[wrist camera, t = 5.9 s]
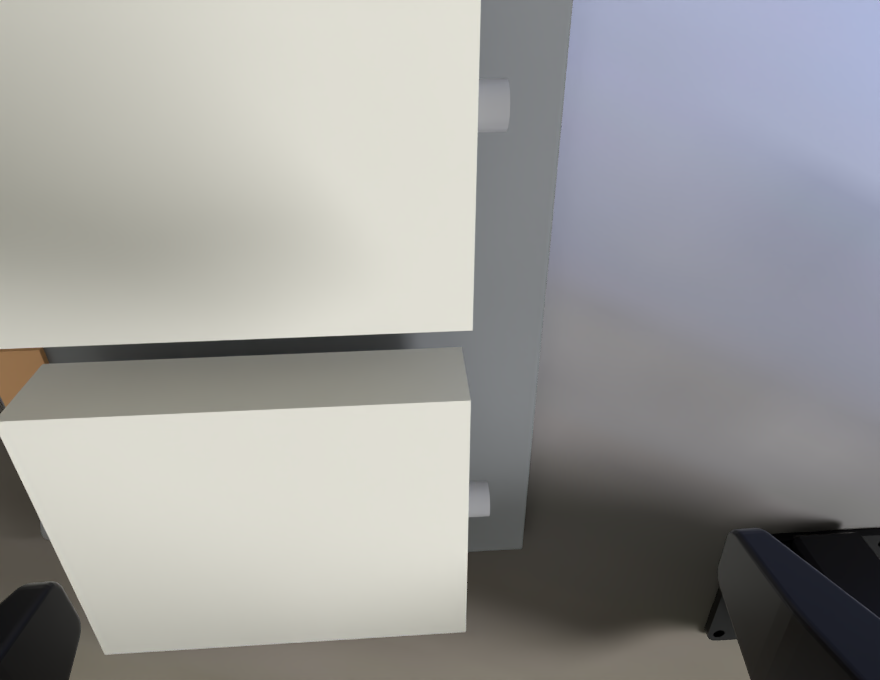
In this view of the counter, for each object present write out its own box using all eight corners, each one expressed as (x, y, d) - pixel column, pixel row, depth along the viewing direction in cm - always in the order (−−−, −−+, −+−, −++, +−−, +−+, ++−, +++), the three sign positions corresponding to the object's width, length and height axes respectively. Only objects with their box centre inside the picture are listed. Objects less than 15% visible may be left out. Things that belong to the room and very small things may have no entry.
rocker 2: (479, 567, 22) (487, 630, 20) (111, 588, 21) (81, 655, 19) (487, 346, 17) (500, 399, 15) (15, 365, 17) (-39, 423, 15)
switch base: (516, 523, 25) (522, 553, 24) (96, 546, 24) (80, 578, 23) (578, -219, 13) (597, -234, 12) (-245, -222, 12) (-314, -239, 11)
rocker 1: (490, 279, 16) (504, 329, 14) (-17, 297, 15) (-78, 352, 13) (508, -176, 11) (533, -200, 9) (-231, -176, 11) (-376, -201, 9)
